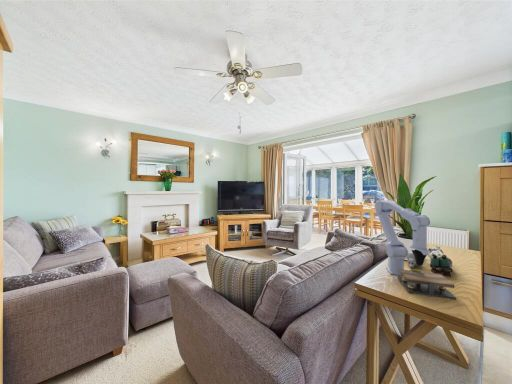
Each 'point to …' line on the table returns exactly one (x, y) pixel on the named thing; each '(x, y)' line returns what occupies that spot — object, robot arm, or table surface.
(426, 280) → the instrument plate
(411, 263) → the round bodied animal figurine
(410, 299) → the table surface
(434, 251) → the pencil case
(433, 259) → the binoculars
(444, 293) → the leveling stand
